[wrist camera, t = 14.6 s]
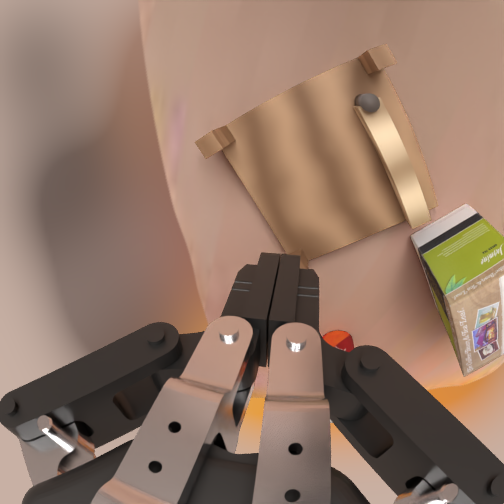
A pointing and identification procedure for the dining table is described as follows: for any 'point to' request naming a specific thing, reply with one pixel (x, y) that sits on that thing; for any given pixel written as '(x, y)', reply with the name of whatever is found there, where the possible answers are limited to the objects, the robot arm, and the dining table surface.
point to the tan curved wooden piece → (393, 158)
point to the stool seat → (321, 159)
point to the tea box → (466, 283)
